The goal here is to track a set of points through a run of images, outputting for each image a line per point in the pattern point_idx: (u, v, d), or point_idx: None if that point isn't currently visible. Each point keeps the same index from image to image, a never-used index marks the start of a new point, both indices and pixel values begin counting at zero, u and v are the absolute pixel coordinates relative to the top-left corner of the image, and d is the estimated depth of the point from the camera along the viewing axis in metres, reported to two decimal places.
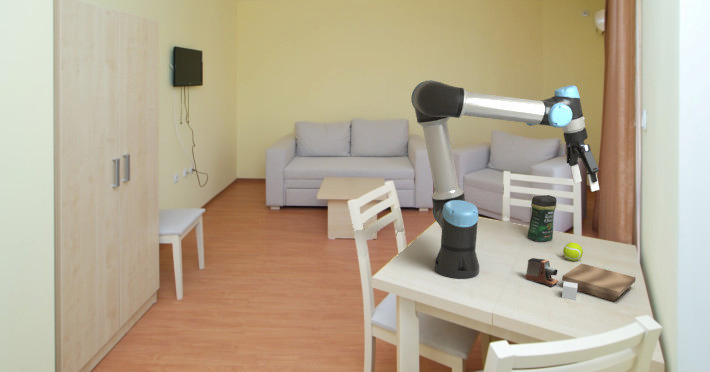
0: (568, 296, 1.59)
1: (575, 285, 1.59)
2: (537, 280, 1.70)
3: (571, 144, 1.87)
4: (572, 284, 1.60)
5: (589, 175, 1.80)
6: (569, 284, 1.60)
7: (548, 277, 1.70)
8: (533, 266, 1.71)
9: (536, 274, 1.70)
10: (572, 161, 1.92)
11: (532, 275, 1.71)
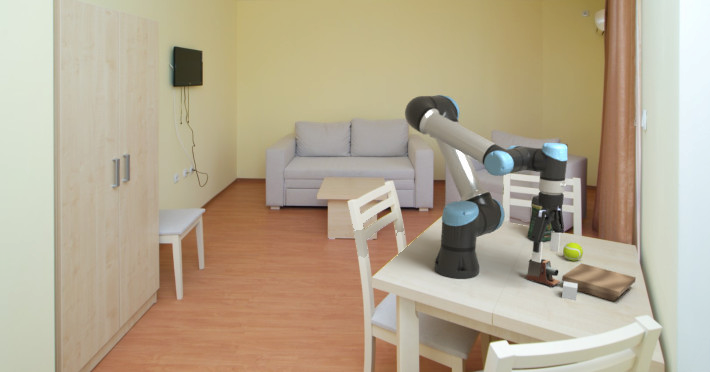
0: (568, 296, 1.59)
1: (575, 285, 1.59)
2: (538, 280, 1.70)
3: None
4: (572, 284, 1.60)
5: None
6: (569, 284, 1.60)
7: (549, 277, 1.70)
8: (534, 266, 1.71)
9: (537, 274, 1.70)
10: (553, 226, 1.72)
11: (533, 275, 1.71)
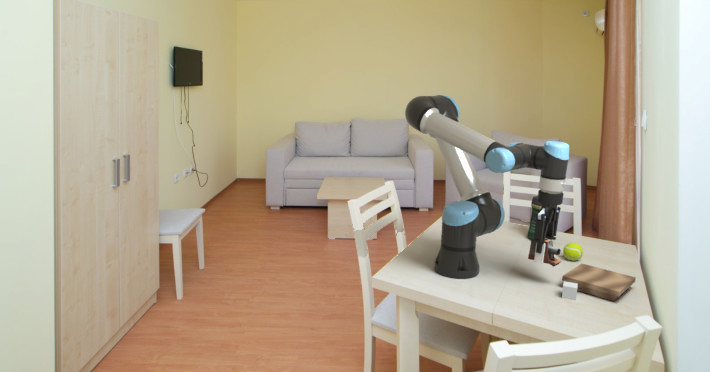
0: (568, 296, 1.59)
1: (575, 285, 1.59)
2: None
3: None
4: (572, 284, 1.60)
5: None
6: (569, 284, 1.60)
7: (551, 257, 1.69)
8: None
9: None
10: (546, 230, 1.70)
11: None
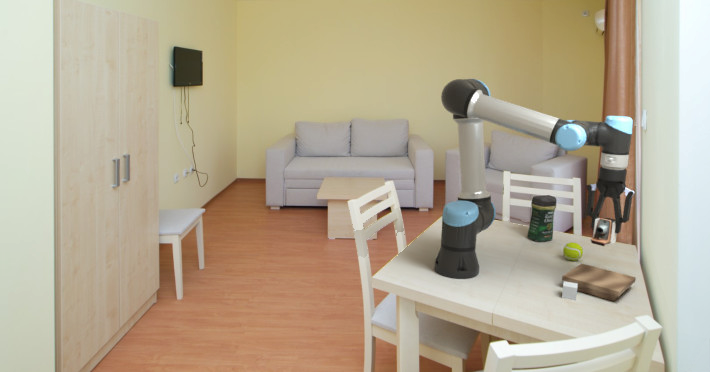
0: (568, 296, 1.59)
1: (575, 285, 1.59)
2: None
3: None
4: (572, 284, 1.60)
5: None
6: (569, 284, 1.60)
7: (604, 238, 1.61)
8: None
9: None
10: None
11: None
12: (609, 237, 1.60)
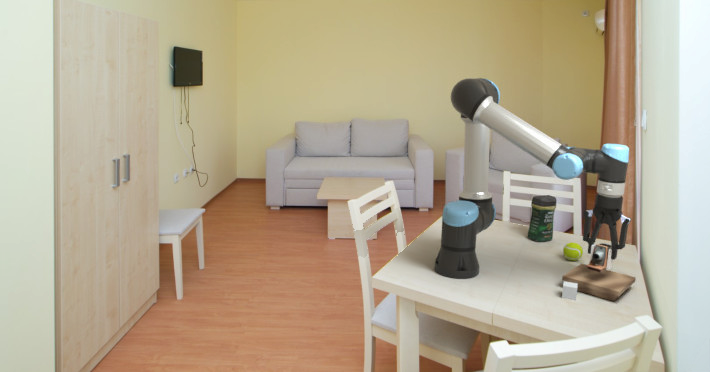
0: (568, 296, 1.59)
1: (575, 285, 1.59)
2: None
3: None
4: (572, 284, 1.60)
5: None
6: (569, 284, 1.60)
7: (600, 264, 1.63)
8: None
9: None
10: None
11: None
12: (605, 263, 1.62)
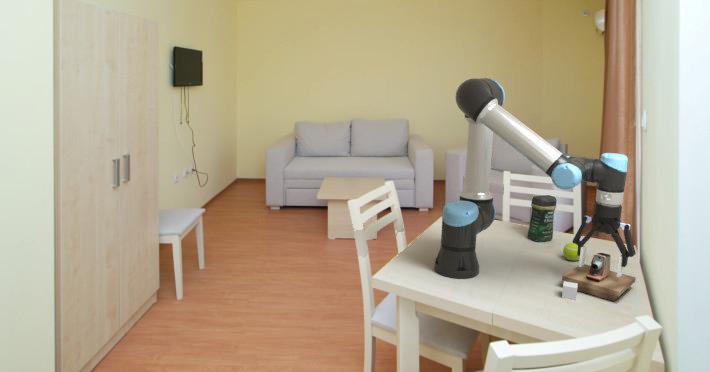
0: (568, 296, 1.59)
1: (575, 285, 1.59)
2: None
3: None
4: (572, 284, 1.60)
5: None
6: (569, 284, 1.60)
7: (599, 273, 1.63)
8: None
9: None
10: None
11: None
12: (604, 273, 1.63)
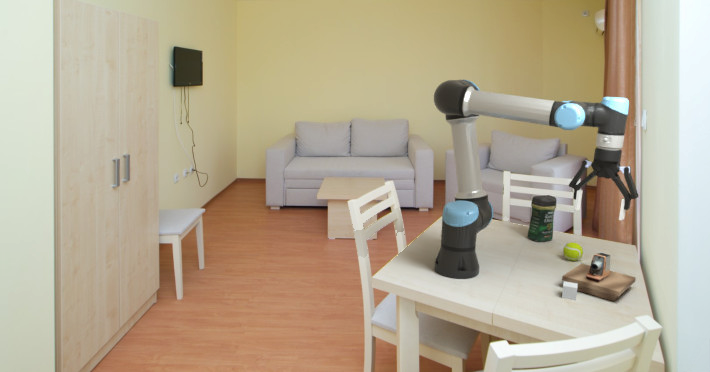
0: (568, 296, 1.59)
1: (575, 285, 1.59)
2: None
3: None
4: (572, 284, 1.60)
5: None
6: (569, 284, 1.60)
7: (599, 273, 1.63)
8: None
9: None
10: None
11: None
12: (604, 273, 1.63)
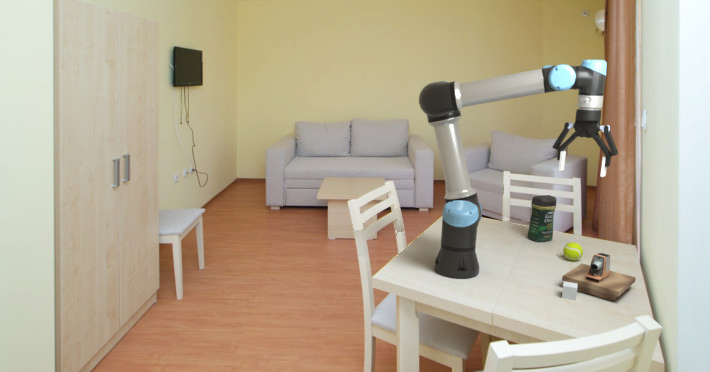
0: (568, 296, 1.59)
1: (575, 285, 1.59)
2: None
3: None
4: (572, 284, 1.60)
5: None
6: (569, 284, 1.60)
7: (598, 273, 1.63)
8: None
9: None
10: None
11: None
12: (603, 273, 1.63)
